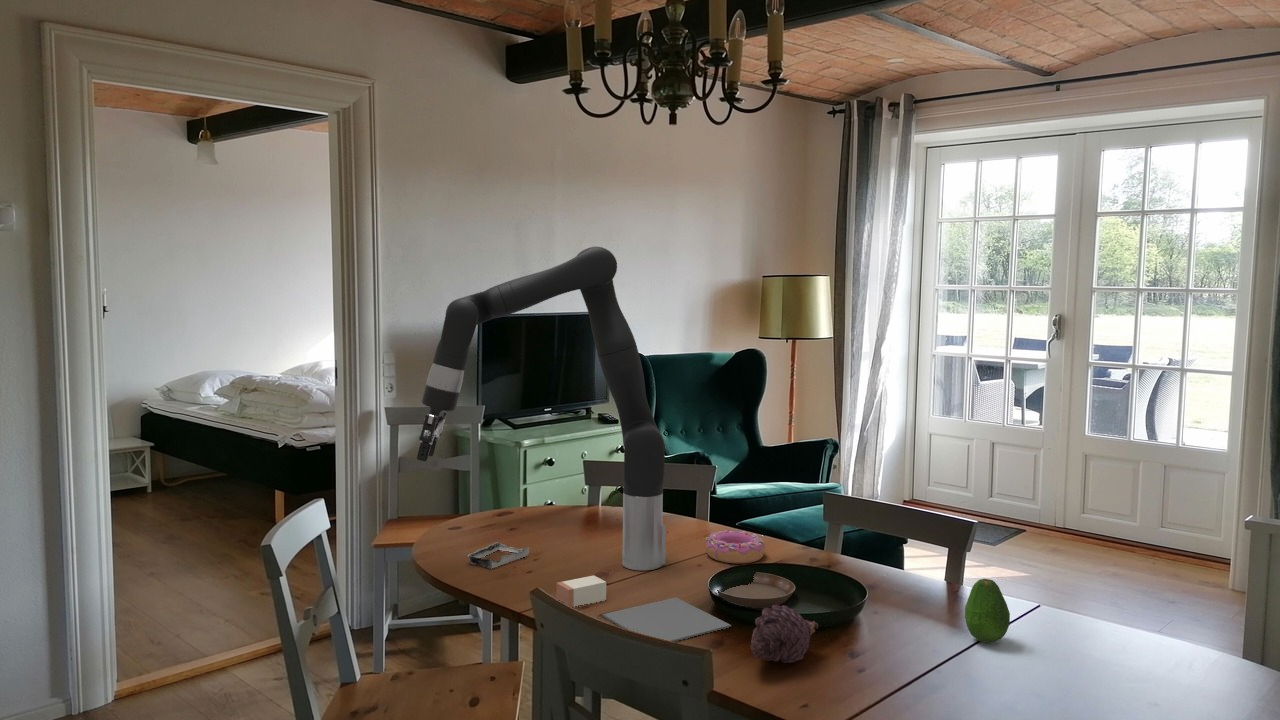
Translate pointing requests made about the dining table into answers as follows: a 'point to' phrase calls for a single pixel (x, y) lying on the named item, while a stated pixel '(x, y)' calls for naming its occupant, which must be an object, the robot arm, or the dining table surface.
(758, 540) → the donut
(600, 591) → the cream block
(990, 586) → the avocado
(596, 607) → the dining table surface
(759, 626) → the purple artichoke
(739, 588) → the plant saucer
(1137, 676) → the dining table surface
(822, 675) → the dining table surface
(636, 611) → the mat
